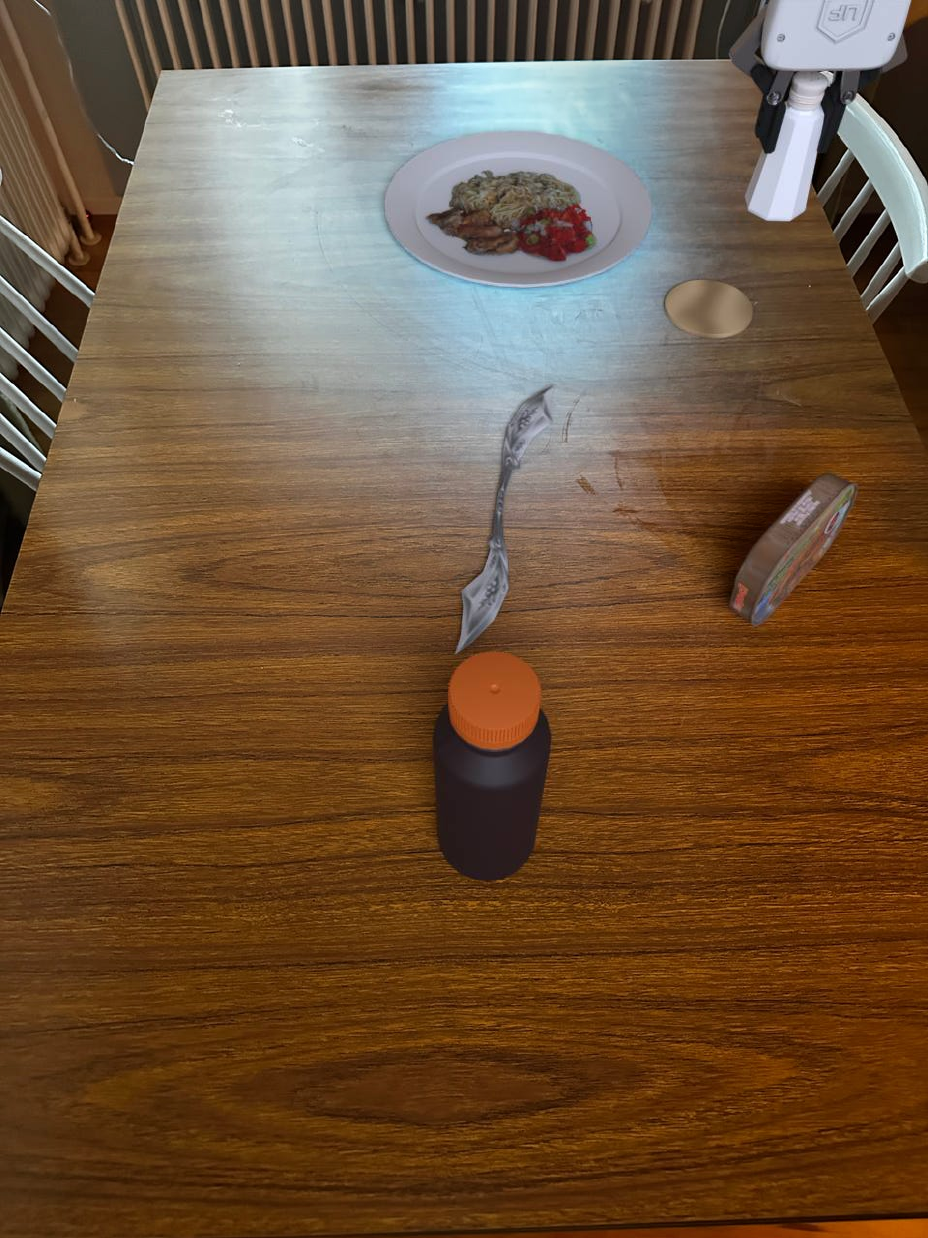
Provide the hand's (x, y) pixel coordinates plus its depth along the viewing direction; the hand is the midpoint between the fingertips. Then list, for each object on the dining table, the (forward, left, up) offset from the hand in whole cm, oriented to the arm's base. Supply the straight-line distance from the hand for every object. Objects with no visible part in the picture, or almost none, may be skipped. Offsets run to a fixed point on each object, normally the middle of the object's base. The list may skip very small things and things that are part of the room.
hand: (792, 142), depth 80 cm
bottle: (+27, +53, -20) cm, 62 cm away
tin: (+2, +31, -20) cm, 37 cm away
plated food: (+21, -21, -20) cm, 36 cm away
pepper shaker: (0, 0, -6) cm, 6 cm away
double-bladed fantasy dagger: (+24, +23, -20) cm, 39 cm away
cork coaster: (+2, -4, -20) cm, 21 cm away
